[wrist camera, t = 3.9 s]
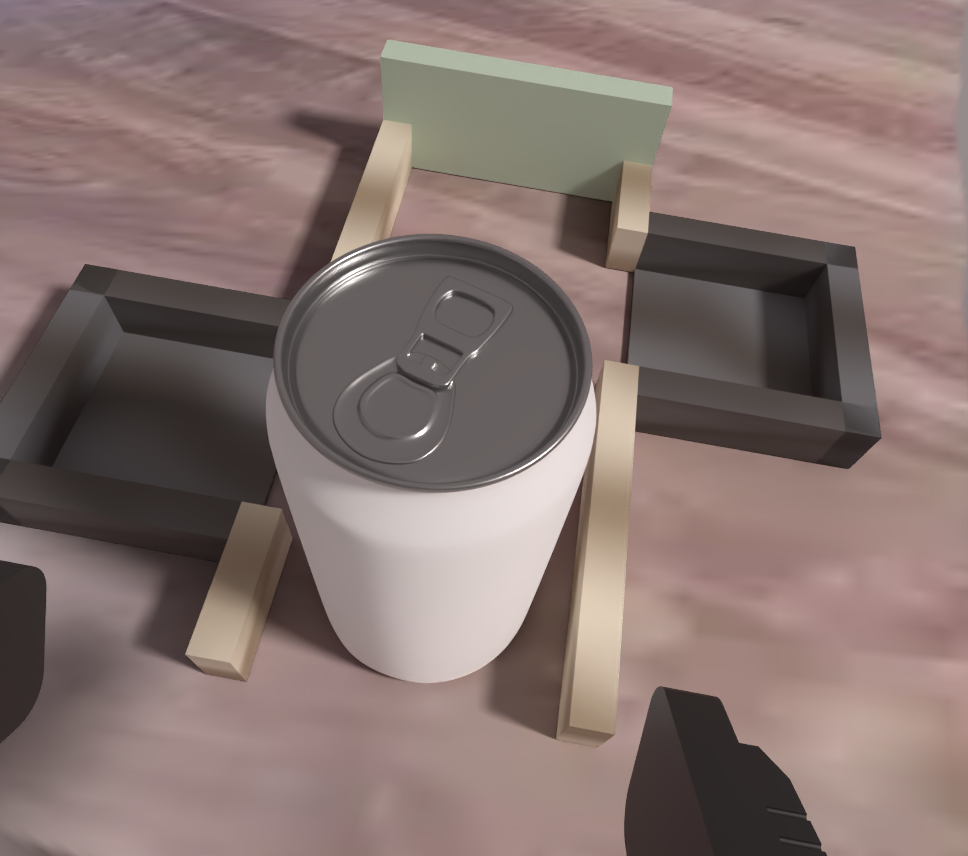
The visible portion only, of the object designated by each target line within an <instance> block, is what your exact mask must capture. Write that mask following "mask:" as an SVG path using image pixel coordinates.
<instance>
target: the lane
mask: <svg viewBox="0 0 968 856" xmlns="http://www.w3.org/2000/svg"><path fill="white" fill-rule="evenodd" d="M411 169H412V125H411V124H405V123H399V122H393V121H387V120H383V122H382V125H381V128H380V130H379V133H378V136H377V138H376V141H375V144H374V147H373V149H372V152H371V155H370V157H369V160H368V163H367V165H366V168H365V171H364V174H363V176H362V179H361V182H360V184H359V187H358V190H357V192H356V195H355V198H354V200H353V203H352V206H351V209H350V211H349V214H348V217H347V219H346V222H345V225H344V227H343V230H342V233H341V236H340V238H339V241H338V244H337V246H336V249H335V252H334V254H333V257H332V260H331V262H332V261H333V260H335V259H336V258H338V257H340V256H342V255H344V254H346V253H348V252H350V251H352V250H354V249H356V248H359V247H361V246H364V245H367V244H370V243H373V242H376V241H380V240H383V239H388V238H389V237H390V234H391V231H392V228H393V225H394V222H395V219H396V215H397V212H398V209H399V206H400V203H401V200H402V197H403V194H404V191H405V187H406V184H407V181H408V178H409V175H410V172H411ZM651 179H652V165H646V164H640V163H634V162H628V161H624V162H623V165H622V169H621V173H620V176H619V180H618V183H617V187H616V190H615V194H614V197H613V201H612V208H611V218H610V227H609V237H608V247H607V256H606V266H605V267H606V268H612V269H618V270H623V271H629V272H634V279H633V292H632V305H631V318H630V331H629V344H628V357H627V364H625V363H619V362H613V361H608V360H604V363H603V366H602V369H601V372H600V374H599V377H598V380H597V383H596V386H595V388H594V393H595V399H596V427H595V434H594V439H593V445H592V449H591V453H590V456H589V459H588V462H587V465H586V468H585V471H584V476H583V486H582V496H581V505H580V515H579V524H578V534H577V543H576V553H575V563H574V572H573V582H572V591H571V601H570V610H569V620H568V630H567V639H566V649H565V658H564V668H563V677H562V687H561V697H560V706H559V716H558V725H557V735H556V740H561V741H566V742H572V743H577V744H582V745H588V746H593V747H599V746H600V745H602V744H603V743H604V742H606V741H607V740H608V739H610V738H611V737H612V736H614V735H615V727H616V712H617V697H618V682H619V666H620V651H621V636H622V621H623V605H624V590H625V575H626V560H627V544H628V529H629V514H630V499H631V483H632V468H633V453H634V438H635V431H639V432H644V433H650V434H655V435H661V436H667V437H672V438H678V439H684V440H689V441H695V442H700V443H706V444H712V445H717V446H723V447H729V448H734V449H740V450H745V451H751V452H757V453H762V454H768V455H774V456H779V457H785V458H790V459H796V460H802V461H807V462H813V463H819V464H824V465H830V466H835V467H841V468H847V469H849V468H850V467H851V466H852V465H854V464H855V463H856V462H857V461H858V460H859V459H860V458H861V457H862V456H863V455H864V454H865V453H866V452H867V451H868V450H869V449H870V448H871V447H872V446H873V445H874V444H875V443H876V442H878V441H879V440H880V439H881V431H880V424H879V416H878V409H877V402H876V395H875V388H874V380H873V373H872V366H871V359H870V351H869V344H868V337H867V330H866V323H865V315H864V308H863V301H862V294H861V287H860V279H859V272H858V265H857V258H856V251H855V247H852V246H846V245H840V244H834V243H829V242H823V241H817V240H811V239H805V238H799V237H794V236H788V235H782V234H776V233H770V232H764V231H759V230H753V229H747V228H741V227H735V226H729V225H724V224H718V223H712V222H706V221H700V220H695V219H689V218H683V217H677V216H671V215H665V214H660V213H654V212H649V209H650V194H651ZM291 301H292V300H287V299H281V298H276V297H270V296H264V295H259V294H253V293H247V292H242V291H236V290H230V289H225V288H219V287H213V286H208V285H202V284H196V283H190V282H185V281H179V280H173V279H168V278H162V277H156V276H151V275H145V274H139V273H134V272H128V271H122V270H117V269H111V268H105V267H99V266H94V265H88V264H85V265H84V267H83V268H82V270H81V272H80V273H79V275H78V277H77V278H76V280H75V282H74V283H73V285H72V287H71V288H70V290H69V291H68V293H67V295H66V296H65V298H64V300H63V301H62V303H61V305H60V306H59V308H58V310H57V311H56V313H55V315H54V316H53V318H52V319H51V321H50V323H49V324H48V326H47V328H46V329H45V331H44V333H43V334H42V336H41V338H40V339H39V341H38V343H37V344H36V346H35V347H34V349H33V351H32V352H31V354H30V356H29V357H28V359H27V361H26V362H25V364H24V366H23V367H22V369H21V371H20V372H19V374H18V375H17V377H16V379H15V380H14V382H13V384H12V385H11V387H10V389H9V390H8V392H7V394H6V395H5V397H4V398H3V400H2V402H1V403H0V522H3V523H8V524H14V525H19V526H25V527H30V528H36V529H41V530H46V531H52V532H57V533H63V534H68V535H74V536H79V537H85V538H90V539H95V540H101V541H106V542H112V543H117V544H123V545H128V546H134V547H139V548H144V549H150V550H155V551H161V552H166V553H172V554H177V555H183V556H188V557H193V558H199V559H204V560H210V561H215V562H219V565H218V567H217V570H216V573H215V575H214V578H213V581H212V583H211V586H210V589H209V592H208V594H207V597H206V600H205V602H204V605H203V608H202V610H201V613H200V616H199V618H198V621H197V624H196V627H195V629H194V632H193V635H192V637H191V640H190V643H189V645H188V648H187V651H186V654H185V655H186V656H187V657H188V658H190V659H191V660H192V661H193V662H194V663H195V664H196V665H197V666H198V667H199V668H200V669H201V670H202V671H203V672H204V673H205V674H208V675H213V676H218V677H224V678H229V679H234V680H240V681H245V682H247V679H248V676H249V673H250V669H251V666H252V663H253V660H254V657H255V654H256V651H257V648H258V645H259V641H260V638H261V635H262V632H263V629H264V626H265V623H266V620H267V617H268V613H269V610H270V607H271V604H272V601H273V598H274V595H275V592H276V589H277V585H278V582H279V579H280V576H281V573H282V570H283V567H284V564H285V561H286V557H287V554H288V551H289V548H290V545H291V542H292V539H293V538H292V535H291V532H290V530H289V527H288V524H287V521H286V519H285V516H284V513H283V511H282V509H280V508H274V507H269V506H265V504H266V501H267V498H268V495H269V493H270V490H271V487H272V484H273V481H274V478H275V476H276V473H277V468H276V465H275V461H274V458H273V454H272V451H271V447H270V443H269V438H268V432H267V423H266V396H267V389H268V384H269V380H270V376H271V373H272V370H273V353H274V344H275V339H276V334H277V331H278V327H279V324H280V322H281V319H282V317H283V315H284V313H285V311H286V309H287V307H288V305H289V304H290V302H291Z"/></svg>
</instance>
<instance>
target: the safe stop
mask: <svg viewBox="0 0 968 856" xmlns="http://www.w3.org/2000/svg"><path fill="white" fill-rule="evenodd" d="M380 58H381V79H382V100H383V120H387V121H393V122H399V123H405V124H411V125H412V167H413V168H418V169H424V170H430V171H436V172H442V173H448V174H453V175H459V176H465V177H471V178H477V179H483V180H488V181H494V182H500V183H506V184H512V185H518V186H523V187H529V188H535V189H541V190H547V191H553V192H558V193H564V194H570V195H576V196H582V197H588V198H593V199H599V200H605V201H611V202H612V201H613V197H614V194H615V190H616V187H617V183H618V180H619V176H620V173H621V169H622V165H623V162H624V161H628V162H634V163H640V164H646V165H653V162H654V159H655V156H656V153H657V150H658V147H659V144H660V141H661V138H662V134H663V131H664V128H665V125H666V122H667V119H668V116H669V113H670V110H671V107H672V91H673V87H668V86H662V85H656V84H650V83H644V82H638V81H632V80H626V79H620V78H614V77H608V76H602V75H596V74H590V73H584V72H578V71H573V70H567V69H561V68H555V67H549V66H543V65H537V64H531V63H525V62H519V61H513V60H507V59H501V58H495V57H489V56H483V55H477V54H471V53H465V52H459V51H453V50H447V49H442V48H436V47H430V46H424V45H418V44H412V43H406V42H400V41H394V40H387V42H386V44H385V47H384V49H383V52H382V54H381V57H380Z"/></svg>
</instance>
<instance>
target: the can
mask: <svg viewBox="0 0 968 856" xmlns="http://www.w3.org/2000/svg"><path fill="white" fill-rule="evenodd" d="M266 423H267V432H268V438H269V443H270V447H271V451H272V454H273V458H274V461H275V465H276V468H277V471H278V475H279V478H280V481H281V484H282V487H283V490H284V493H285V496H286V499H287V502H288V505H289V508H290V511H291V514H292V517H293V520H294V523H295V526H296V528H297V531H298V534H299V537H300V540H301V543H302V546H303V549H304V552H305V555H306V558H307V560H308V563H309V566H310V569H311V572H312V575H313V578H314V581H315V583H316V586H317V589H318V592H319V595H320V597H321V600H322V603H323V606H324V608H325V611H326V613H327V616H328V618H329V621H330V623H331V625H332V627H333V629H334V631H335V632H336V634H337V636H338V637H339V639H340V640H341V642H342V643H343V645H344V646H345V647H346V649H347V650H348V651H349V652H350V653H351V654H352V655H353V656H354V657H355V658H357V659H358V660H359V661H361V662H362V663H364V664H365V665H367V666H368V667H370V668H372V669H374V670H376V671H378V672H380V673H383V674H385V675H388V676H391V677H394V678H397V679H401V680H405V681H410V682H417V683H436V682H444V681H449V680H453V679H457V678H460V677H463V676H465V675H468V674H470V673H472V672H474V671H476V670H478V669H480V668H482V667H483V666H485V665H486V664H488V663H489V662H491V661H492V660H493V659H494V658H496V657H497V656H498V655H499V654H500V653H501V652H502V651H503V650H504V649H505V648H506V647H507V646H508V644H509V643H510V642H511V641H512V639H513V638H514V636H515V635H516V633H517V632H518V630H519V628H520V627H521V625H522V623H523V621H524V619H525V617H526V614H527V612H528V610H529V608H530V605H531V603H532V601H533V598H534V596H535V593H536V591H537V589H538V586H539V584H540V581H541V579H542V577H543V574H544V572H545V569H546V567H547V564H548V562H549V559H550V557H551V555H552V552H553V550H554V547H555V545H556V542H557V540H558V537H559V535H560V532H561V530H562V527H563V525H564V522H565V520H566V517H567V515H568V512H569V510H570V507H571V505H572V502H573V500H574V497H575V495H576V492H577V489H578V487H579V484H580V482H581V479H582V476H583V474H584V471H585V468H586V465H587V462H588V459H589V456H590V453H591V449H592V445H593V439H594V434H595V427H596V399H595V393H594V387H593V383H592V353H591V346H590V341H589V337H588V334H587V331H586V328H585V326H584V323H583V321H582V319H581V317H580V315H579V313H578V311H577V309H576V308H575V306H574V305H573V303H572V302H571V300H570V299H569V297H568V296H567V295H566V294H565V292H564V291H563V290H562V289H561V288H560V287H559V286H558V285H557V284H556V283H555V282H554V281H553V280H552V279H551V278H550V277H549V276H548V275H547V274H545V273H544V272H543V271H542V270H540V269H539V268H538V267H536V266H535V265H533V264H532V263H530V262H529V261H527V260H525V259H524V258H522V257H520V256H518V255H516V254H514V253H512V252H510V251H508V250H506V249H503V248H501V247H498V246H496V245H493V244H490V243H487V242H483V241H480V240H476V239H471V238H466V237H461V236H454V235H443V234H416V235H405V236H398V237H393V238H388V239H383V240H380V241H376V242H373V243H370V244H367V245H364V246H361V247H359V248H356V249H354V250H352V251H350V252H348V253H346V254H344V255H342V256H340V257H338V258H336V259H335V260H333V261H332V262H330V263H329V264H327V265H326V266H324V267H323V268H322V269H320V270H319V271H318V272H317V273H316V274H314V275H313V276H312V277H311V278H310V279H309V280H308V281H307V282H306V283H305V284H304V285H303V286H302V287H301V289H300V290H299V291H298V292H297V294H296V295H295V296H294V298H293V299H292V301H291V302H290V304H289V305H288V307H287V309H286V311H285V313H284V315H283V317H282V319H281V322H280V324H279V327H278V331H277V334H276V339H275V344H274V353H273V370H272V373H271V376H270V380H269V384H268V389H267V396H266Z"/></svg>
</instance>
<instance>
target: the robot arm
mask: <svg viewBox="0 0 968 856" xmlns="http://www.w3.org/2000/svg"><path fill="white" fill-rule="evenodd" d="M45 615H46V580H45V576H44V574H43V572H42V571H41V570H40V569H39V568H37V567H33V566H28V565H22V564H17V563H12V562H7V561H1V560H0V743H1V742H2V741H3V740H5V739H6V738H7V737H8V736H9V735H10V734H11V733H12V732H13V731H14V730H15V729H16V728H18V726H19V725H20V724H21V723H22V722H23V721H24V720H25V718H26V717H27V716H28V714H29V713H30V711H31V709H32V708H33V706H34V704H35V702H36V699H37V697H38V694H39V692H40V689H41V685H42V680H43V672H44V644H45ZM806 815H807V814H806V811H805V809H804V807H803V805H802V803H801V801H800V799H799V797H798V795H797V793H796V791H795V789H794V787H793V785H792V783H791V781H790V779H789V778H788V777H787V776H786V775H785V774H784V773H783V772H782V771H781V770H780V768H779V767H778V766H777V765H776V764H775V763H774V762H773V761H772V760H771V759H770V758H769V757H768V756H767V755H766V754H765V753H764V752H763V751H762V750H761V749H760V748H759V747H758V746H752V745H747V744H742V743H739V742H738V740H737V737H736V735H735V732H734V730H733V728H732V725H731V723H730V721H729V718H728V716H727V713H726V711H725V709H724V706H723V704H722V702H721V700H720V699H719V698H718V697H715V696H709V695H704V694H699V693H693V692H688V691H683V690H677V689H672V688H667V687H662V686H659V687H658V688H657V689H656V690H655V692H654V694H653V696H652V699H651V702H650V705H649V709H648V713H647V717H646V721H645V725H644V729H643V733H642V737H641V741H640V745H639V749H638V753H637V756H636V760H635V764H634V768H633V772H632V776H631V780H630V784H629V788H628V793H627V799H626V806H625V819H624V836H625V847H626V853H627V856H827V854H826V852H822V851H821V842H820V840H819V838H818V836H817V834H816V832H815V830H814V828H813V826H812V824H811V822H810V821H807V819H806Z"/></svg>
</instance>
